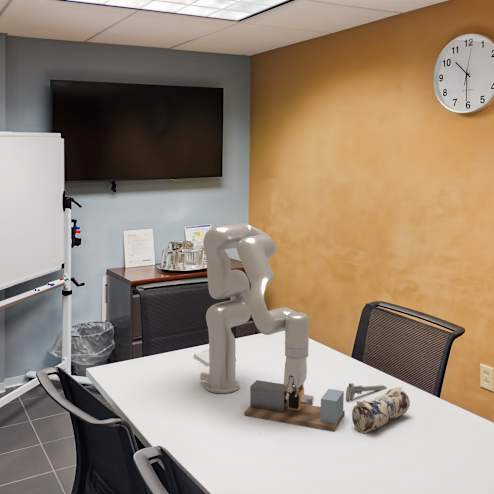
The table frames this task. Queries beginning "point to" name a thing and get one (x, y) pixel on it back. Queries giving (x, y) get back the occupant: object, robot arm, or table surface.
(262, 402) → the sleeve
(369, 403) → the pencil case
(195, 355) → the mounting plate
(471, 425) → the table surface
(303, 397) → the tube
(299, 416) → the board
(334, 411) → the socket
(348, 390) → the caliper
